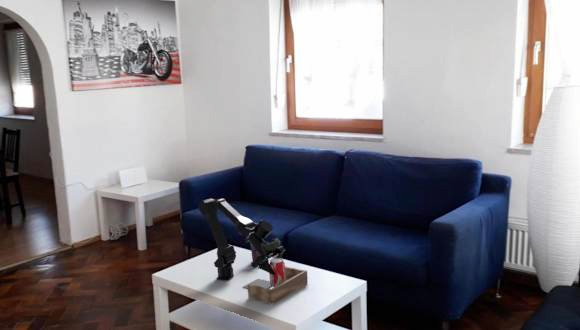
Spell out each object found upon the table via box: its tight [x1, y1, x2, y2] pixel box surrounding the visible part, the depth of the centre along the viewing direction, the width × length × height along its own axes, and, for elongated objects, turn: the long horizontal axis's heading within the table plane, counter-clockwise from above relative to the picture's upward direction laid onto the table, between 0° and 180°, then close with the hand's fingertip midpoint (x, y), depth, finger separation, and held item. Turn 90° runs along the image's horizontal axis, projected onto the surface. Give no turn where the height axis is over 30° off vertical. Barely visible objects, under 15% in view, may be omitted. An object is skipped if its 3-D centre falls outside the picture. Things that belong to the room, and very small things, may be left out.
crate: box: [247, 265, 309, 305], centre depth 243 cm, size 13×26×6 cm, turn 144°
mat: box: [242, 278, 273, 290], centre depth 250 cm, size 11×11×1 cm
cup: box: [248, 232, 259, 261], centre depth 280 cm, size 7×7×15 cm
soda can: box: [268, 257, 287, 288], centre depth 242 cm, size 7×7×12 cm
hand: (279, 272), depth 241 cm, fingers closed on soda can, 7 cm apart
